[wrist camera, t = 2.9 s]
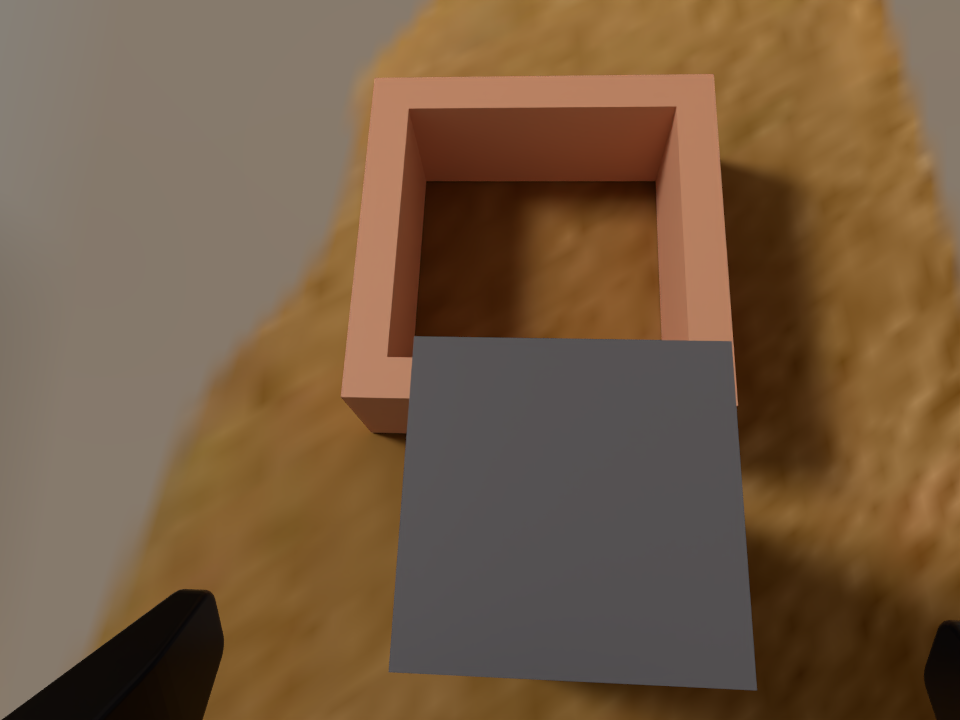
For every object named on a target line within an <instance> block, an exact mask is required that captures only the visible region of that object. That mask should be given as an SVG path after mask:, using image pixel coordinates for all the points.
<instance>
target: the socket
mask: <svg viewBox="0 0 960 720" xmlns="http://www.w3.org/2000/svg"><path fill="white" fill-rule="evenodd" d="M426 181H655V183H656V208H657V233H658V258H659V282H660V307H661V332H662V340H688V341H732V353H733V367H734V380H735V394H736V407H737V406H738V399H737V385H736V371H735V358H734V344H733V331H732V317H731V303H730V290H729V276H728V263H727V249H726V235H725V222H724V208H723V194H722V181H721V167H720V154H719V140H718V126H717V113H716V99H715V86H714V74H687V75H598V76H509V77H419V78H375V81H374V90H373V100H372V109H371V119H370V128H369V138H368V147H367V156H366V166H365V175H364V185H363V194H362V203H361V213H360V222H359V232H358V241H357V251H356V260H355V269H354V279H353V288H352V298H351V307H350V316H349V326H348V335H347V345H346V354H345V363H344V373H343V382H342V392H341V398H342V399H343V400H344V401H345V402H346V403H347V405H348V406H349V407H350V408H351V409H352V410H353V412H354V413H355V414H356V415H357V416H358V417H359V418H360V420H361V421H362V422H363V423H364V424H365V425H366V427H367V428H368V429H369V430H370V431H371V432H372V433H407V423H408V409H409V396H410V383H411V369H412V356H413V343H414V336H415V326H416V312H417V299H418V285H419V272H420V259H421V245H422V232H423V219H424V205H425V192H426Z"/></svg>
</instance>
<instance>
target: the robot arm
mask: <svg viewBox="0 0 960 720" xmlns="http://www.w3.org/2000/svg"><path fill="white" fill-rule="evenodd" d="M223 649H224V636H223V631H222V627H221V622H220V618H219V614H218V609H217V605H216V601H215V598H214V595H213V594H212V593H211V592H210V591H208V590H195V589H182V590H178V591H176V592H175V593H173V594H172V595H170V596H169V597H168V598H166V599H165V600H164V601H162V602H161V603H160V604H158V605H157V606H155V607H154V608H153V609H151V610H150V611H149V612H147V613H146V614H145V615H143V616H142V617H141V618H139V619H138V620H136V621H135V622H134V623H132V624H131V625H130V626H128V627H127V628H126V629H124V630H123V631H121V632H120V633H119V634H117V635H116V636H115V637H113V638H112V639H111V640H109V641H108V642H107V643H105V644H104V645H102V646H101V647H100V648H98V649H97V650H96V651H94V652H93V653H92V654H90V655H89V656H88V657H86V658H85V659H83V660H82V661H81V662H79V663H78V664H77V665H75V666H74V667H73V668H71V669H70V670H69V671H67V672H66V673H64V674H63V675H62V676H60V677H59V678H58V679H56V680H55V681H54V682H52V683H51V684H50V685H48V686H47V687H45V688H44V689H43V690H41V691H40V692H39V693H37V694H36V695H35V696H33V697H32V698H31V699H29V700H28V701H27V702H25V703H24V704H23V705H21V706H20V707H18V708H17V709H16V710H14V711H13V712H12V713H10V714H9V715H7V716H6V717H5V718H3V719H2V720H203V717H204V713H205V710H206V707H207V704H208V700H209V697H210V694H211V691H212V687H213V684H214V681H215V678H216V674H217V671H218V668H219V664H220V661H221V658H222V654H223ZM924 681H925V686H926V690H927V693H928V696H929V699H930V702H931V705H932V708H933V711H934V714H935V717H936V720H960V620H947V621H944V622H943V623H942V624H941V625H940V626H939V628H938V630H937V633H936V636H935V639H934V642H933V645H932V648H931V651H930V654H929V657H928V660H927V663H926V665H925V670H924Z"/></svg>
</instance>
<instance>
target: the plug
mask: <svg viewBox="0 0 960 720" xmlns="http://www.w3.org/2000/svg"><path fill="white" fill-rule="evenodd" d="M389 672H398V673H418V674H438V675H458V676H478V677H498V678H518V679H537V680H557V681H577V682H597V683H617V684H637V685H657V686H677V687H697V688H717V689H737V690H757V683H756V669H755V655H754V642H753V628H752V614H751V600H750V587H749V573H748V559H747V545H746V532H745V518H744V504H743V490H742V477H741V463H740V449H739V435H738V422H737V408H736V394H735V380H734V367H733V353H732V341H688V340H622V339H557V338H491V337H426V336H414V343H413V356H412V369H411V383H410V396H409V409H408V423H407V436H406V449H405V462H404V476H403V489H402V502H401V516H400V529H399V542H398V556H397V569H396V582H395V595H394V609H393V622H392V635H391V649H390V662H389Z"/></svg>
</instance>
